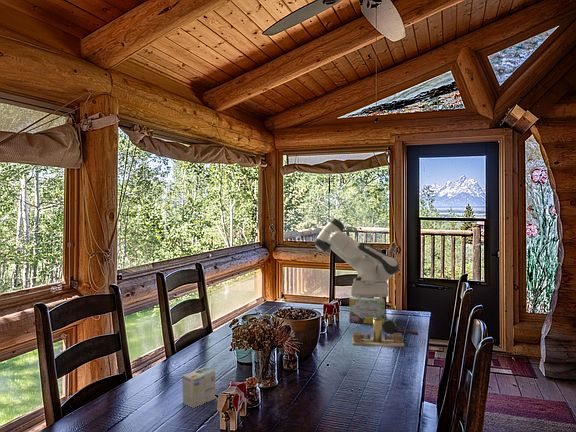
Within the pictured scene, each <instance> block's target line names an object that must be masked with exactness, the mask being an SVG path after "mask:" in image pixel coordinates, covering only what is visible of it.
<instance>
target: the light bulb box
mask: <svg viewBox="0 0 576 432" xmlns="http://www.w3.org/2000/svg"><path fill="white" fill-rule="evenodd" d="M181 378H182V383H181V384H182V404H183V403H184V404H183V405H185V404H186V405H185V406H187V405H188V406H187V407H189V406H190V407H189V408H191V407H192V409H193V408H194V409H196V408H198V407H200V406H202V405H205V404H207V403H209V402H211V401H214V400H215V399H217V398H216V396H215V395H217V393H216V392H217V391H216V370H215V369H211V368H208V367H206V366H202V367H200V368H198V369H196V370H193V371H190V372H188V373H185V374H182V375H181ZM206 402H207V403H206ZM204 403H205V404H204ZM199 405H200V406H199ZM197 406H198V407H197ZM195 407H196V408H195Z"/></svg>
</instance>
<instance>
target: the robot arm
mask: <svg viewBox="0 0 576 432" xmlns="http://www.w3.org/2000/svg"><path fill="white" fill-rule="evenodd" d="M344 225H345V224H344V223H343V222H342V221H341V220H340V219H337V218H334V217H333V218H330V219H329V220H328V222H327V223H326V224H325V225H324V226H323V227H322V229H321V230H320V232H319V234H318V235H317V237H316V238H314V241H313V244H314V246H315V248H316V249H317V250H318V251H320V252H323V253H325V252H328V251H332V252H333V253H334V254H336V255H337V256H338V257H339V258H340V259H341V260H343V261H344V262H345V263H347V264H348V266H350V267H351V268H353V269H354V270H355V271H356V272H357V277H354V278H353V281H352V282H353V283H352V285H351V291H350V295H351V297H358V299H359V301H360V304H363V299H361V298H378V299H379V300H377V302H378V304H380V301H381V299H383V298H387V297H388V296H389V283H388V282H387V281H388V280H390V279H391V278H392V276H393V275H395V274H396V273H397V272H399V270H400V264H399V261H398V260H397V259H396V258H395V257H393V256H391V255H388V254H386V253H384V252H382V251H380V250H379V249H378V248H375V247H374V246H372V245H370V244H368V243H365V242H360V241H358V240H355V239H354V238H352V237H350V235H348V234H346V233H344V232H343V231H344V229H345V226H344Z"/></svg>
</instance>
